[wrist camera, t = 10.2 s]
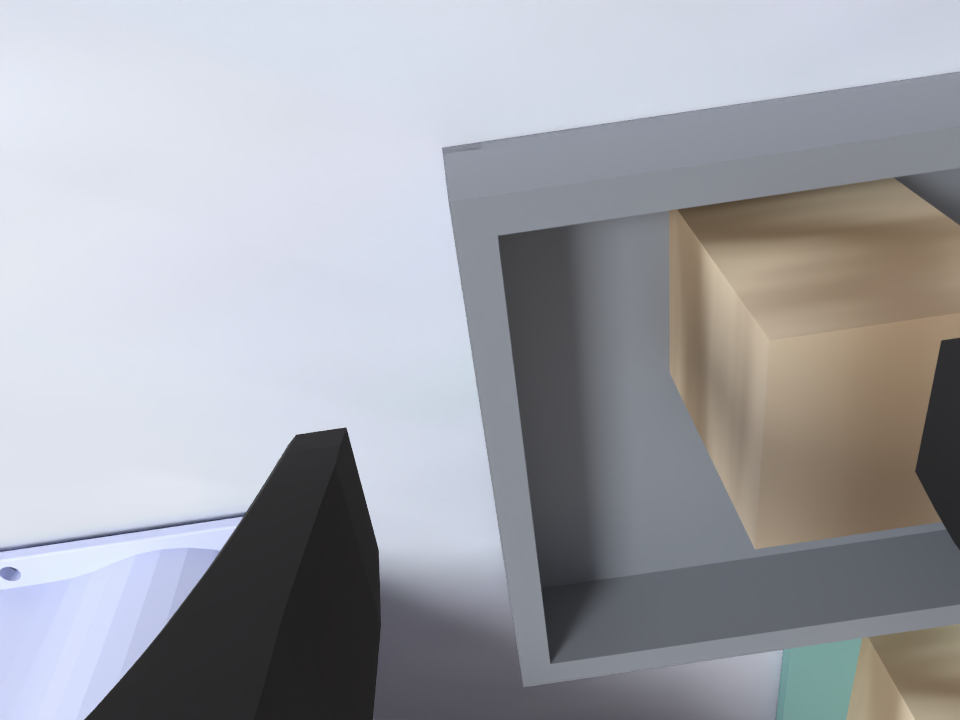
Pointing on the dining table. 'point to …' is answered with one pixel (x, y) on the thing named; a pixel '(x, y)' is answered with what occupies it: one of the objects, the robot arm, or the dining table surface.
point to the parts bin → (665, 384)
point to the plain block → (814, 351)
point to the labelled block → (908, 676)
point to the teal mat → (817, 681)
